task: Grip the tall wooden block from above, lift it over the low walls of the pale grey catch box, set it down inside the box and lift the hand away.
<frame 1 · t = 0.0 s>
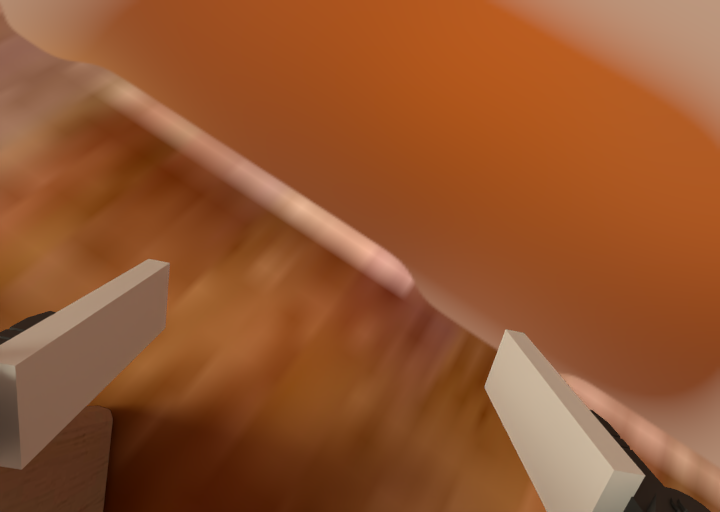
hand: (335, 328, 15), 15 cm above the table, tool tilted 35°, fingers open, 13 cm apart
wooden block: (30, 493, 24), on the table
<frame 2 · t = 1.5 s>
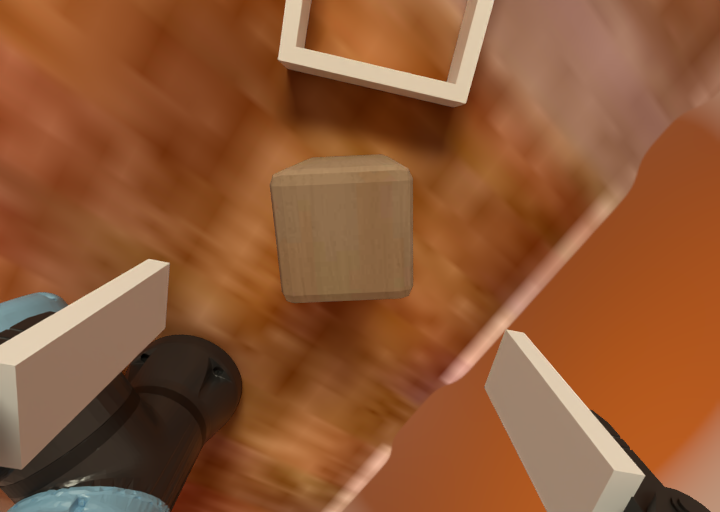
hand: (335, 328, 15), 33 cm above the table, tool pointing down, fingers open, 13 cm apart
wooden block: (349, 198, 46), on the table
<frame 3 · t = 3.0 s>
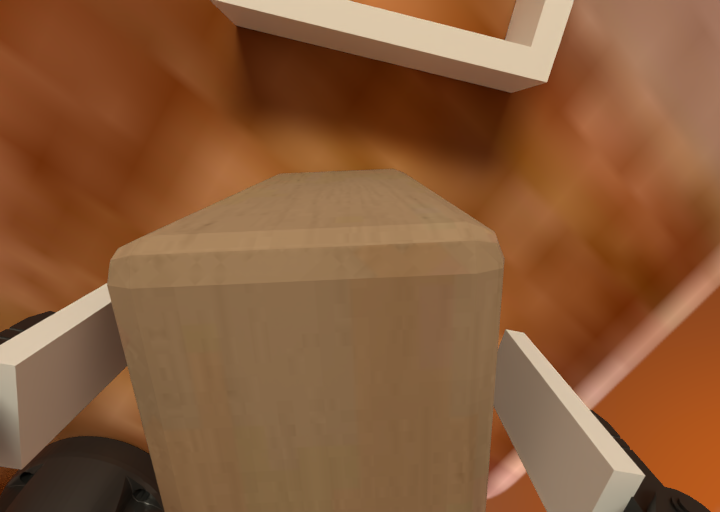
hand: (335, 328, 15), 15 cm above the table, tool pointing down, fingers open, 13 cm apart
wooden block: (341, 236, 29), on the table
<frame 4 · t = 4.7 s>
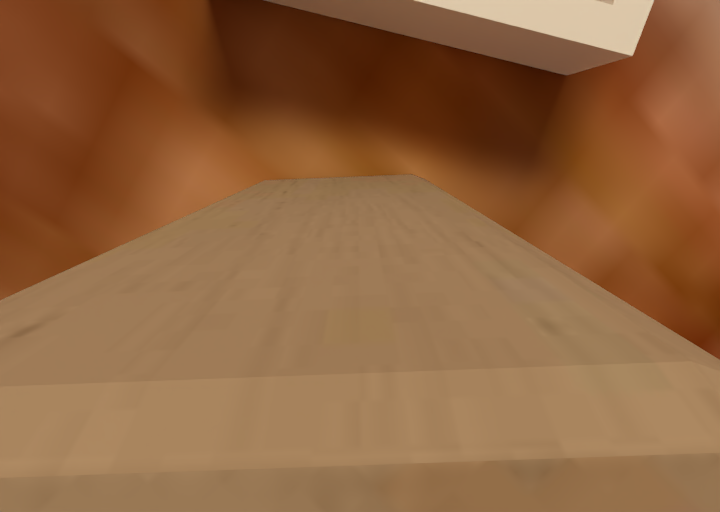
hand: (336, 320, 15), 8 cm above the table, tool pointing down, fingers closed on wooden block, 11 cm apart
wooden block: (344, 258, 23), on the table, touching gripper
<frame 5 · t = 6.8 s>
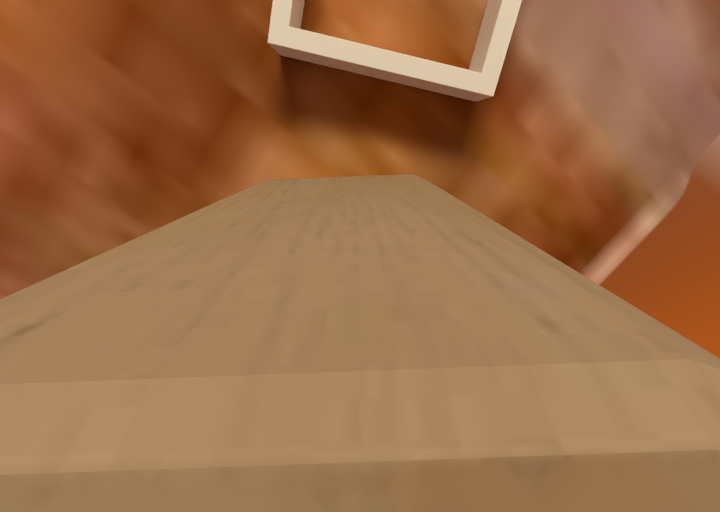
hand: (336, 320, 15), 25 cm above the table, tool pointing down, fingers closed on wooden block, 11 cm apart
wooden block: (344, 258, 23), point 17 cm above the table, touching gripper
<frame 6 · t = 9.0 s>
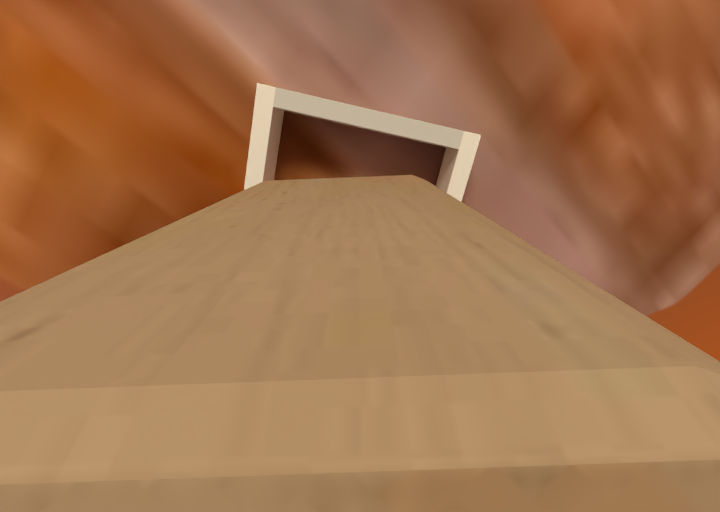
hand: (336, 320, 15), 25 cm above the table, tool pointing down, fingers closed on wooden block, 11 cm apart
catch box: (349, 209, 39), on the table
wooden block: (344, 258, 23), point 16 cm above the table, touching gripper
when the fingers open (10 cm above the table, at t = 12.5 s): wooden block drops 2 cm, resting in catch box.
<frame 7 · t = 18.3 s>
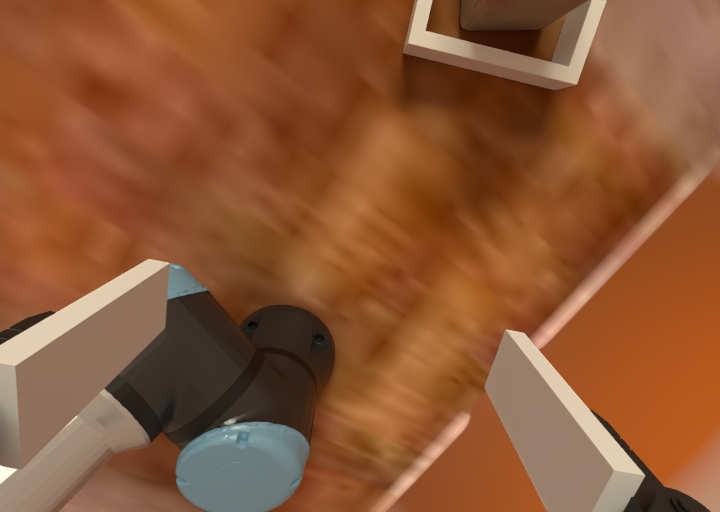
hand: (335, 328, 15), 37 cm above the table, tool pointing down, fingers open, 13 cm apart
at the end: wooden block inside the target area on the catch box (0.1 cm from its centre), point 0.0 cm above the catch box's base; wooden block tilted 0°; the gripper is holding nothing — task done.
